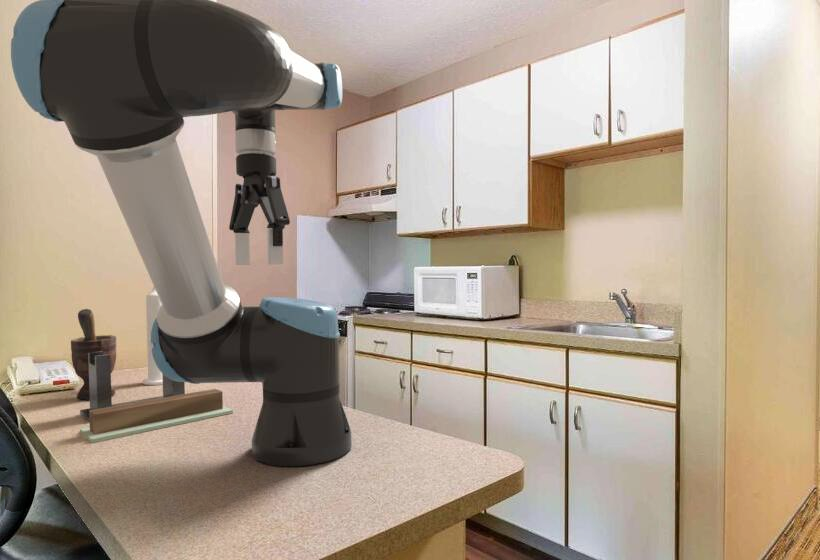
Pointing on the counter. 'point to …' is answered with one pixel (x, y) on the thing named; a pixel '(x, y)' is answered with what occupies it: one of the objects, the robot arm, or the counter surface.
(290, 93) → the robot arm
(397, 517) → the counter surface
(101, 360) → the rack
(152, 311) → the candle
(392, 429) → the counter surface
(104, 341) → the mortar and pestle
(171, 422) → the mat
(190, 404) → the rail
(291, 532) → the counter surface
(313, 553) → the counter surface
